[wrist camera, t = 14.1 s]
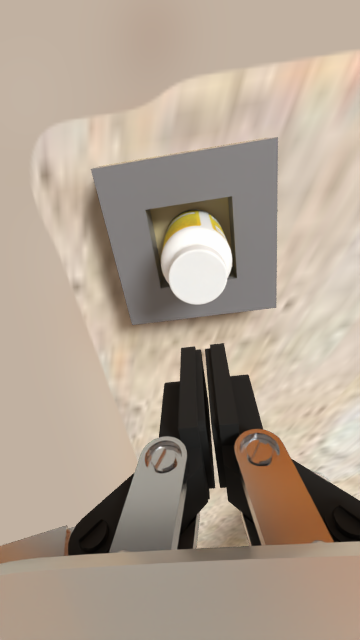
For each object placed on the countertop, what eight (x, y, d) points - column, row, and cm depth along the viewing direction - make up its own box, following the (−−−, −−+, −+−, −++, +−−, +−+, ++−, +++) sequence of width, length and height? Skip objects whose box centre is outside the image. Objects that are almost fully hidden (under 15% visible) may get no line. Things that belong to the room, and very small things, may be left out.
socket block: (266, 290, 32) (276, 307, 29) (137, 306, 34) (132, 325, 30) (265, 138, 25) (277, 137, 22) (103, 165, 27) (90, 169, 23)
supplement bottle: (158, 255, 30) (147, 300, 21) (175, 199, 27) (171, 225, 19) (210, 272, 30) (219, 322, 22) (232, 219, 28) (252, 253, 19)
